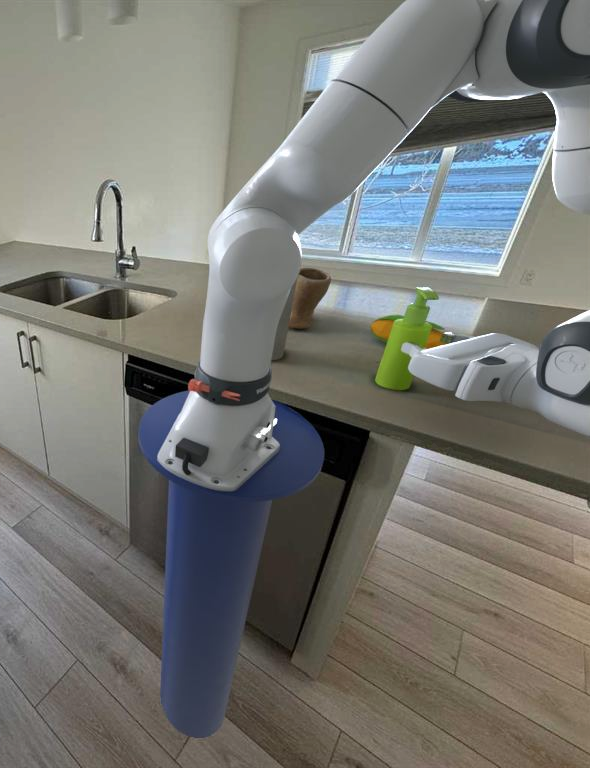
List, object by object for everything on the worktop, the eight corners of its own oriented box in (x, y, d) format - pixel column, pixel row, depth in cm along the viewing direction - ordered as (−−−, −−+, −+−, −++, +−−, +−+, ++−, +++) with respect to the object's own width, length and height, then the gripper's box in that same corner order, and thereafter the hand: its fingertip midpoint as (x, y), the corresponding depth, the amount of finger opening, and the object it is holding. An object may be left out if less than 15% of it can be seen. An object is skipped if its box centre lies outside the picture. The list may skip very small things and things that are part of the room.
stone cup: (318, 334, 106) (331, 278, 99) (269, 328, 112) (278, 275, 104) (322, 315, 117) (334, 263, 110) (278, 310, 123) (286, 261, 115)
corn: (386, 304, 100) (488, 328, 85) (378, 332, 104) (474, 359, 89) (367, 313, 98) (469, 339, 82) (360, 341, 102) (456, 371, 86)
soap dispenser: (381, 391, 81) (413, 295, 71) (371, 375, 87) (400, 283, 77) (416, 394, 80) (454, 295, 70) (403, 377, 85) (438, 284, 75)
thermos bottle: (241, 351, 102) (256, 235, 88) (265, 343, 104) (284, 230, 90) (265, 363, 95) (285, 240, 81) (290, 355, 97) (315, 234, 84)
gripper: (568, 342, 64) (472, 315, 76) (473, 368, 60) (387, 335, 72) (548, 377, 68) (459, 345, 79) (456, 403, 63) (376, 366, 75)
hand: (424, 341), depth 75 cm, fingers open, 8 cm apart
